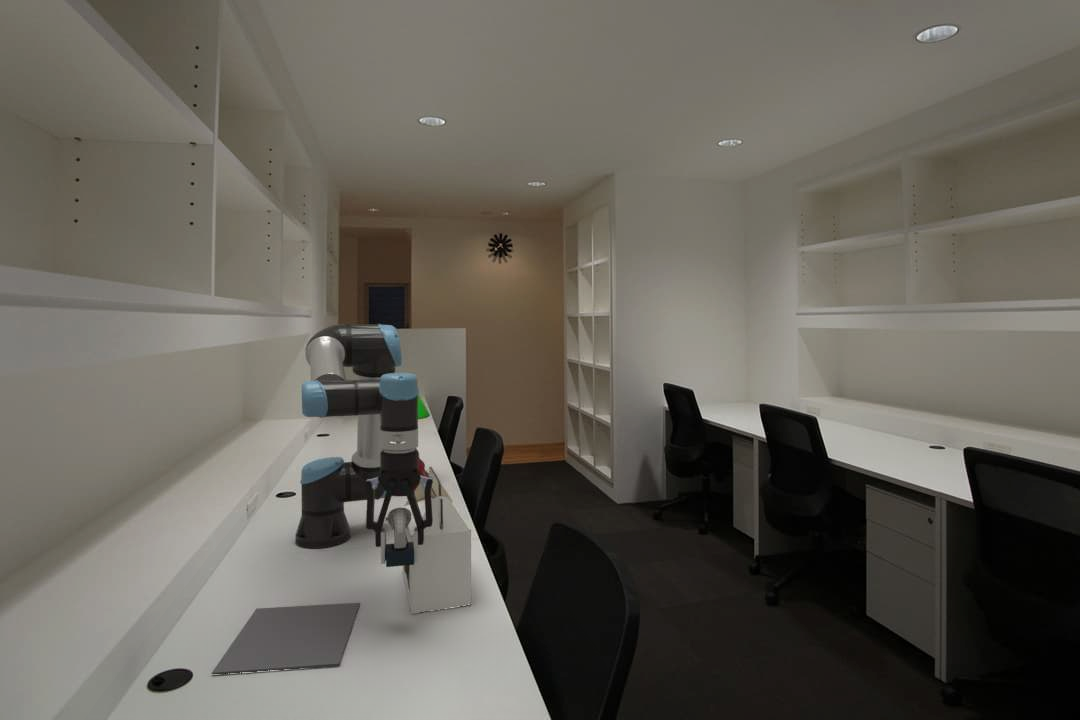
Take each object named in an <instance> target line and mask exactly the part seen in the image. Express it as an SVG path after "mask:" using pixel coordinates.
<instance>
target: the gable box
mask: <svg viewBox="0 0 1080 720" xmlns="http://www.w3.org/2000/svg"><path fill="white" fill-rule="evenodd" d="M423 473H424V471H423ZM428 473H429V476H428V477H432V478H433V484H432V487H431V501H432V517H433V522H432V526H431V527H426V528H425V529H424V542H423V545H418V554H419V557H418V562H414V565H405V566H402V575H403V581H404V586H405V590H406V595H407V599H408V600H407V601H408V604H410V605H409V607H410V613H411V614H412V613H417V614H419V613H418V612H424V613H426V612H425V611H431V610H438V609H445V608H450V607H457V606H463V605H468V604H471V605H472V529H471V528H470V526H469V524H468V523H467V521H466V519H465V518H464V516H463V514H462V513H461V511H460V510H459V508H458V506H457V504H456V502H454V501H453V499H452V498H451V496H450V495H449V493H448V491H447V490H446V489H445V488H444V486H443V484H442V483H441V480H440V479H439V477H438V475H437V474H436V471H435V470H434V468H433V467H432V466H429V467H428ZM424 475H425V473H424ZM425 477H426V475H425ZM424 491H425V488H423V487H422V483H421V482H420V483H419V485H418V486H417V488H416V489H415V491H414V493H415V497H416V500H417V503H418V506H419V509H420V512H421V516H422V519H423V520H426V511H425V495H424ZM401 508H406V509H408V510H410V512H411V514H412V516H411V521H410V523H409V525H408V528H407V529H406V528H405V533H406V541H407V542H413V543H414V528H415V527H417V526H416V522H415V519H414V516H413V513H412V510H411V507H410V504H409V501H408V500H407V501H406V503H405V504H404V505H403V506H402V507H401ZM445 610H446V609H445ZM438 611H439V610H438ZM431 612H432V611H431Z"/></svg>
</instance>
